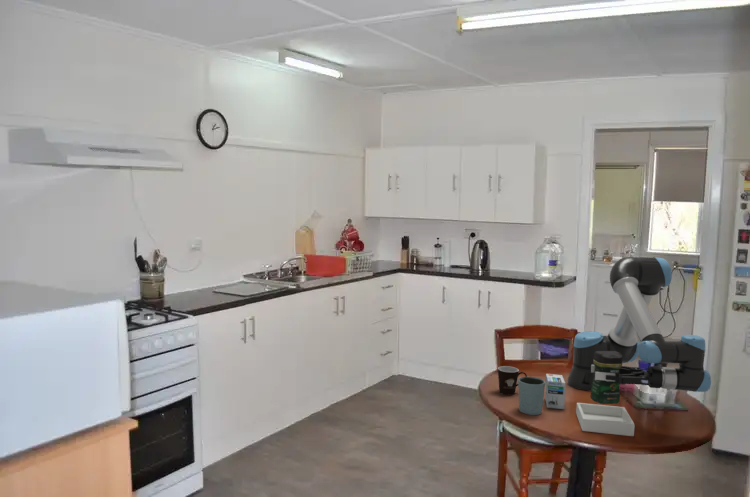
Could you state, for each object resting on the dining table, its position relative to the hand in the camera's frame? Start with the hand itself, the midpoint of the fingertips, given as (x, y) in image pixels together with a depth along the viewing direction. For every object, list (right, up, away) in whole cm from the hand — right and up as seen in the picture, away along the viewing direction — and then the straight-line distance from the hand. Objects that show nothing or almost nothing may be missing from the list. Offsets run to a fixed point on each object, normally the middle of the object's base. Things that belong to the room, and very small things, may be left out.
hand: (593, 372), depth 210 cm
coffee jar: (+4, -11, 0) cm, 12 cm away
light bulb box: (-8, -17, +21) cm, 28 cm away
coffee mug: (-22, -16, +32) cm, 42 cm away
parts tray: (+4, -19, +1) cm, 20 cm away
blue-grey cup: (-20, -18, +13) cm, 29 cm away
